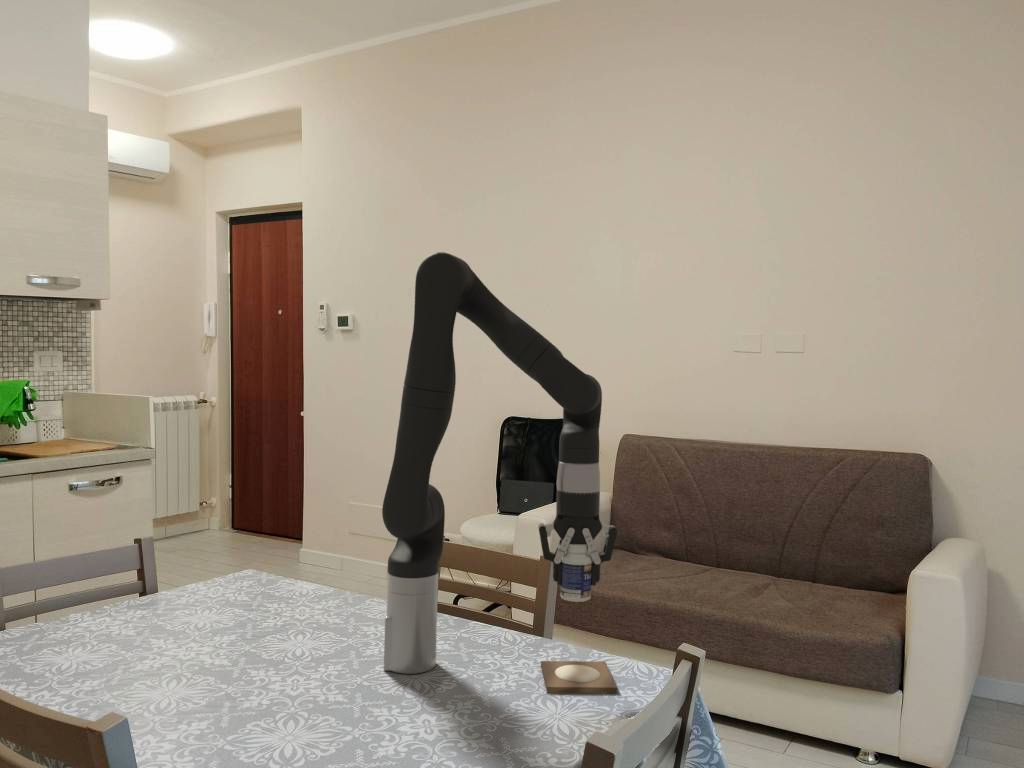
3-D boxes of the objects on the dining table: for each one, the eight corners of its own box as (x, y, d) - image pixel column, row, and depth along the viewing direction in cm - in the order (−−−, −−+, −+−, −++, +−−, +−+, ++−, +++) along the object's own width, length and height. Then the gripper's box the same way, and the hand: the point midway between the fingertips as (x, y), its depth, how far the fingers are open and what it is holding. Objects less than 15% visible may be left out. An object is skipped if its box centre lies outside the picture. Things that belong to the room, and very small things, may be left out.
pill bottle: (588, 603, 137) (590, 547, 136) (557, 601, 138) (559, 544, 138) (592, 595, 142) (594, 540, 142) (563, 592, 143) (564, 538, 143)
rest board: (546, 692, 136) (547, 686, 136) (540, 666, 148) (540, 660, 148) (616, 693, 137) (617, 686, 137) (605, 666, 149) (605, 661, 149)
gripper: (538, 490, 136) (536, 589, 136) (622, 491, 136) (620, 590, 136) (536, 483, 143) (534, 577, 143) (616, 485, 143) (613, 579, 144)
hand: (576, 583), depth 140 cm, fingers closed on pill bottle, 5 cm apart
